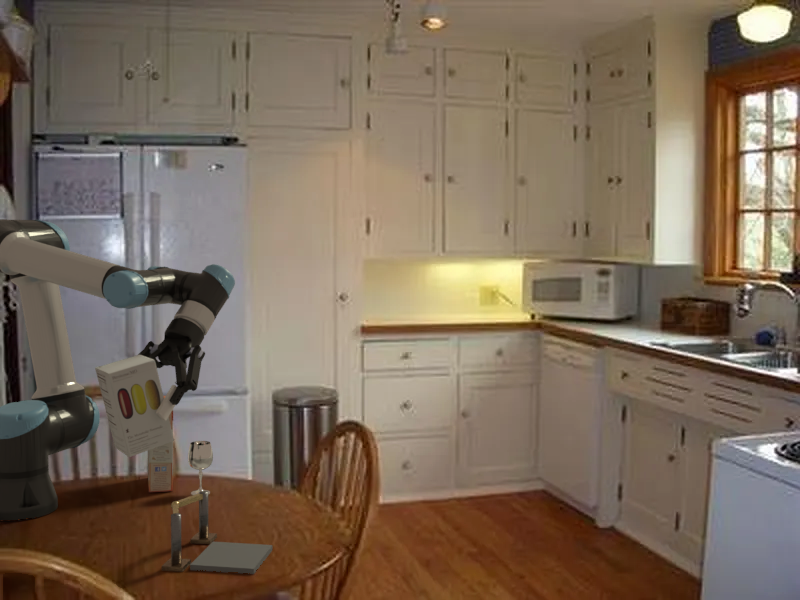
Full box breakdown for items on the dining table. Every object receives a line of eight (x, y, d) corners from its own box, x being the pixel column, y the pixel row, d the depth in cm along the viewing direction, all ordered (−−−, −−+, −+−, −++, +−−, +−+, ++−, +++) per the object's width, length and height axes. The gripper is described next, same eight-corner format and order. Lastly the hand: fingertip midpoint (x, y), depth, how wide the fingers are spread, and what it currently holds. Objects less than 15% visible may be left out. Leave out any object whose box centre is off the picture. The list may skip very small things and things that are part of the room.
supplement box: (128, 458, 160) (106, 374, 157) (113, 448, 168) (92, 367, 164) (176, 440, 165) (155, 358, 162) (160, 431, 173) (139, 352, 169)
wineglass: (189, 489, 204) (189, 440, 203) (214, 489, 204) (214, 440, 204) (186, 496, 198) (186, 446, 197) (211, 496, 199) (211, 445, 198)
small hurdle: (152, 569, 155) (151, 516, 154) (189, 535, 173) (189, 487, 172) (182, 571, 154) (182, 517, 153) (216, 537, 172) (216, 488, 171)
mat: (190, 570, 155) (190, 564, 155) (213, 546, 167) (212, 541, 167) (253, 574, 153) (253, 568, 153) (272, 550, 165) (272, 545, 165)
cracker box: (174, 491, 202) (173, 405, 200) (148, 493, 200) (147, 406, 199) (172, 476, 215) (172, 394, 214) (148, 477, 214) (147, 395, 212)
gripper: (243, 342, 174) (194, 431, 162) (154, 335, 185) (102, 418, 173) (226, 318, 169) (174, 408, 157) (136, 313, 180) (80, 396, 168)
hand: (136, 413), depth 165 cm, fingers closed on supplement box, 12 cm apart
